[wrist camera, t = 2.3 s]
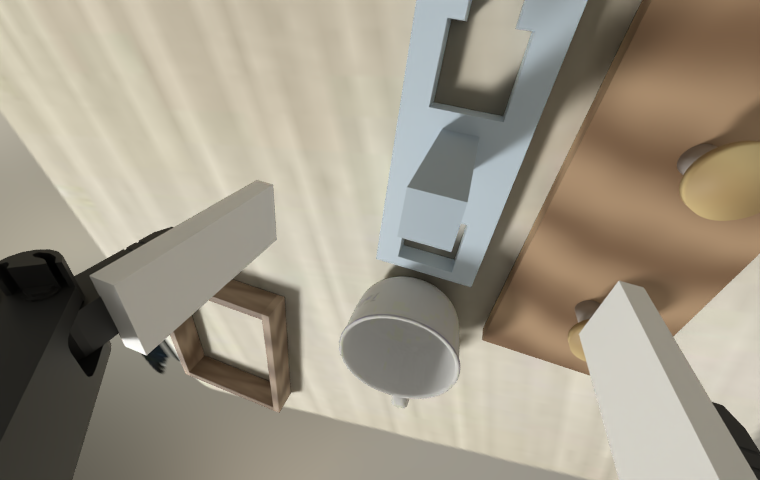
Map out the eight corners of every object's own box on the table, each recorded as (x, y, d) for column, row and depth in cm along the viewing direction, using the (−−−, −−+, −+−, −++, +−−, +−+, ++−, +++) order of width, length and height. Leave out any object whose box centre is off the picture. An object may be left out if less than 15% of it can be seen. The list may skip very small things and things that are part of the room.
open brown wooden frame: (168, 257, 43) (145, 272, 41) (284, 297, 40) (268, 316, 37) (200, 356, 57) (185, 373, 54) (290, 393, 53) (279, 412, 51)
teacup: (373, 248, 32) (341, 302, 25) (480, 280, 30) (476, 347, 24) (360, 336, 40) (334, 393, 33) (444, 365, 38) (433, 432, 32)
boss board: (646, -10, 17) (697, -25, 13) (953, 28, 15) (1144, 25, 10) (482, 328, 33) (480, 373, 29) (616, 372, 31) (636, 427, 26)
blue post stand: (437, -83, 18) (360, -232, 8) (607, -66, 16) (779, -226, 6) (382, 247, 31) (328, 346, 21) (472, 273, 30) (459, 394, 20)
